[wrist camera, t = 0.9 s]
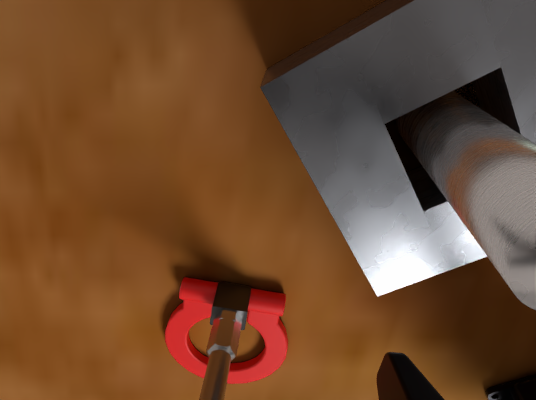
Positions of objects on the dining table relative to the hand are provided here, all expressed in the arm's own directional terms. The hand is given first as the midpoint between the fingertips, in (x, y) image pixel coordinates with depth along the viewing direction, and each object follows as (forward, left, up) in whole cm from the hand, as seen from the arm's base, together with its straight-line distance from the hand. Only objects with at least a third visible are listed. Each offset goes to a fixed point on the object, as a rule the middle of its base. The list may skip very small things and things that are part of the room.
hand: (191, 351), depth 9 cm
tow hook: (-11, +8, -14) cm, 20 cm away
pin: (-3, -9, -14) cm, 17 cm away
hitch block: (-3, -9, -14) cm, 17 cm away
